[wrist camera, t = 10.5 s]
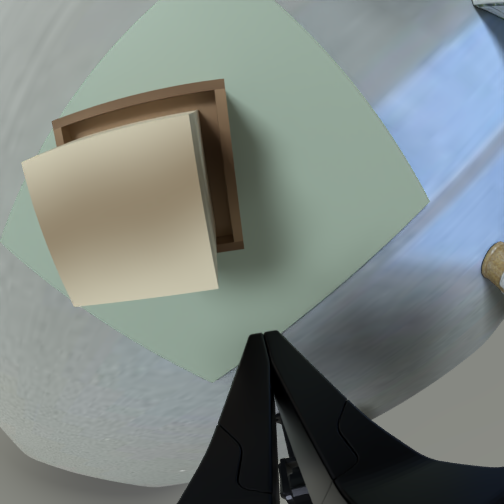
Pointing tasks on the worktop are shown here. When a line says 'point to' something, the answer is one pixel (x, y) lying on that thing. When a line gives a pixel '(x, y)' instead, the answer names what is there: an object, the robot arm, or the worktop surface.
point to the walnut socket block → (213, 134)
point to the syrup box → (491, 6)
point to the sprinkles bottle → (495, 265)
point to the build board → (251, 176)
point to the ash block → (128, 211)
